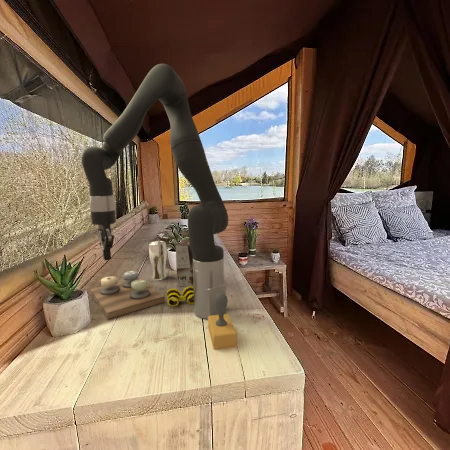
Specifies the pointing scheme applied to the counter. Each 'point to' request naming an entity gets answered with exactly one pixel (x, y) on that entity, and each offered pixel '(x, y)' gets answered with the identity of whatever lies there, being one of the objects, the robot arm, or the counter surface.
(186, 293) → the opera glasses
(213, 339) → the rubber stamp
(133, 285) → the button
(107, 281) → the button
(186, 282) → the coffee box
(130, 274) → the button
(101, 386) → the counter surface
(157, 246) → the beer glass
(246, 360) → the counter surface
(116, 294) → the button board
